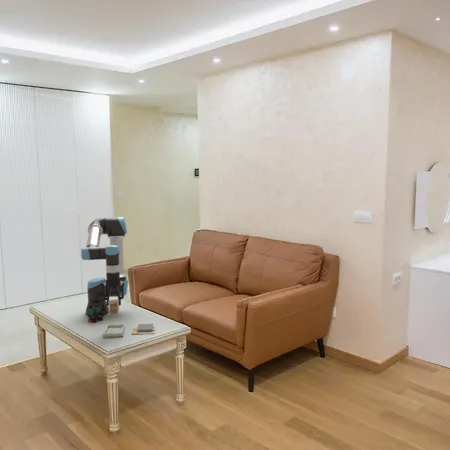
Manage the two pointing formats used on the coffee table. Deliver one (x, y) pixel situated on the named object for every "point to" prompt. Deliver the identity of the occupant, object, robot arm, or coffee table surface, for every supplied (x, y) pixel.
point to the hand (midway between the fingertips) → (114, 310)
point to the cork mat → (142, 332)
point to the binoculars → (94, 313)
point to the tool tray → (114, 330)
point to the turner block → (113, 307)
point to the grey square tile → (144, 327)
